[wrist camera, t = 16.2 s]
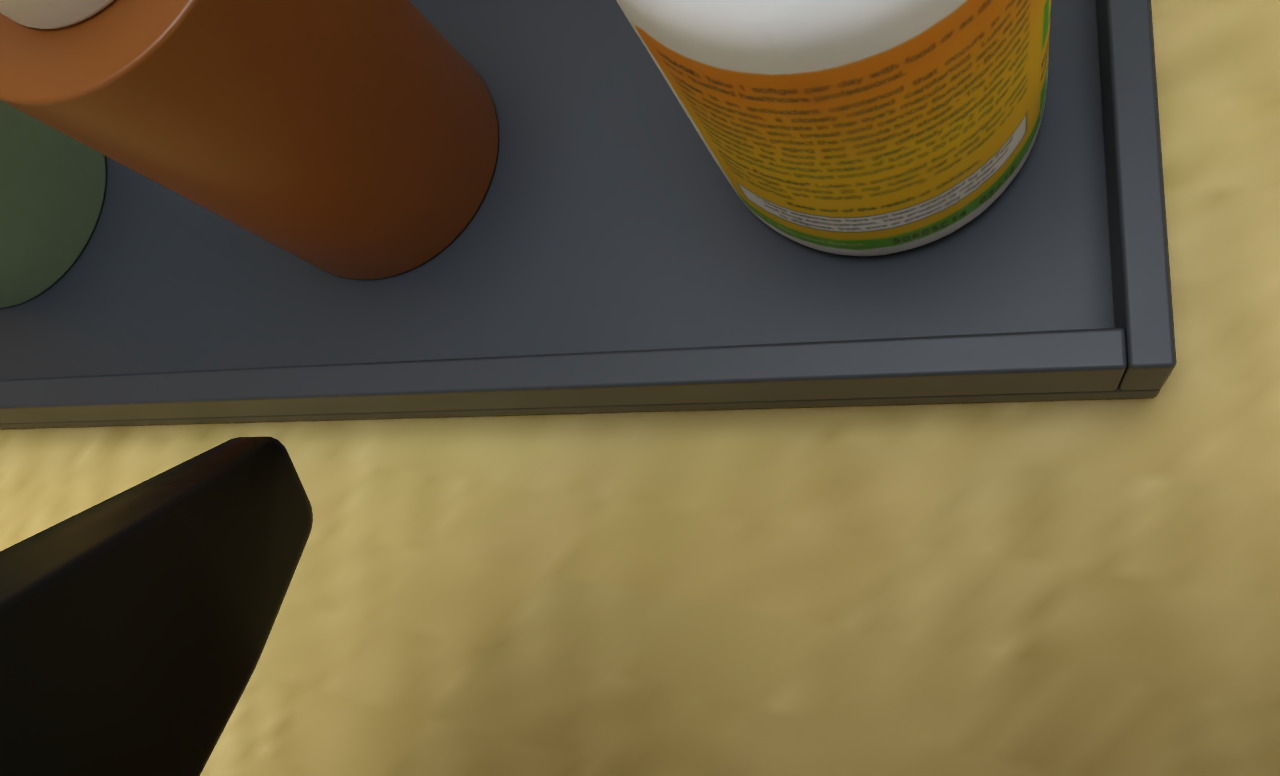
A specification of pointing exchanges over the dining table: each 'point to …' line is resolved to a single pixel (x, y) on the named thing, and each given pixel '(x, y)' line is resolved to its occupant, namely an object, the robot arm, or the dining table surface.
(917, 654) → the dining table surface
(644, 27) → the supplement bottle
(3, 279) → the green bottle
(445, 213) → the amber bottle
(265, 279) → the tray
